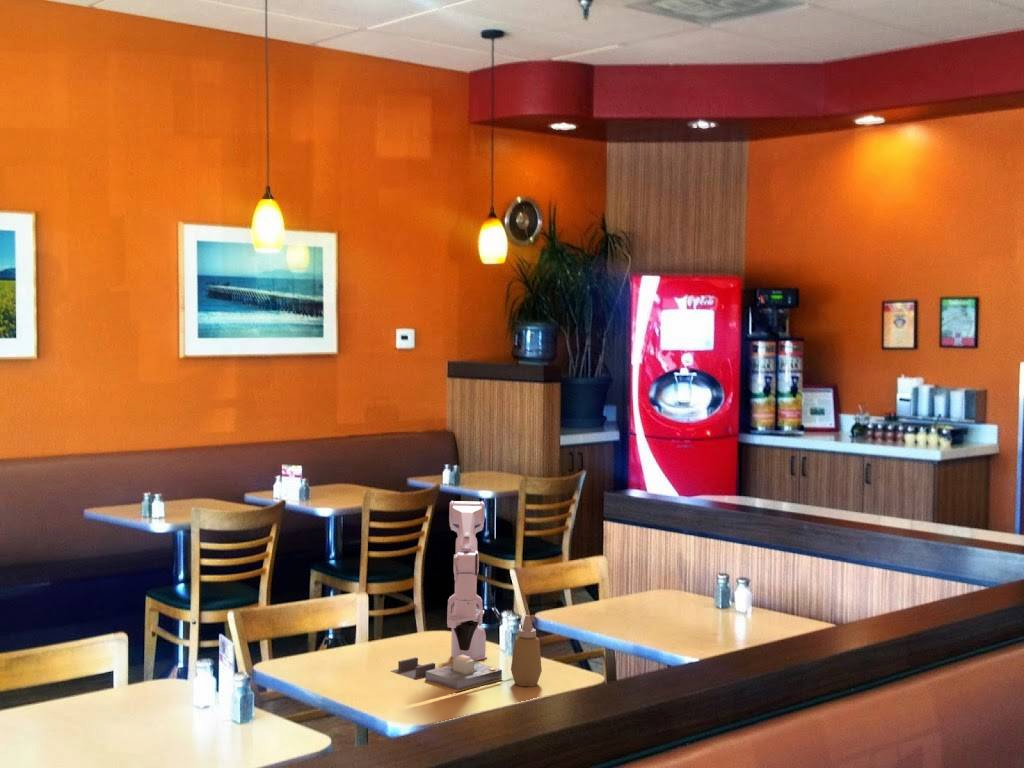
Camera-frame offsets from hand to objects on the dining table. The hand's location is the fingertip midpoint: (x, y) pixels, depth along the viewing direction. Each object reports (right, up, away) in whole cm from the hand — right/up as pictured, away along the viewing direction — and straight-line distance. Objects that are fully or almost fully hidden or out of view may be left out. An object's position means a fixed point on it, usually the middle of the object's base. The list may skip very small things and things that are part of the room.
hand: (464, 649), depth 330 cm
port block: (0, -9, +1) cm, 8 cm away
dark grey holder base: (-13, -8, +6) cm, 16 cm away
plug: (0, -9, +1) cm, 9 cm away
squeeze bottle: (+16, -9, 0) cm, 18 cm away
